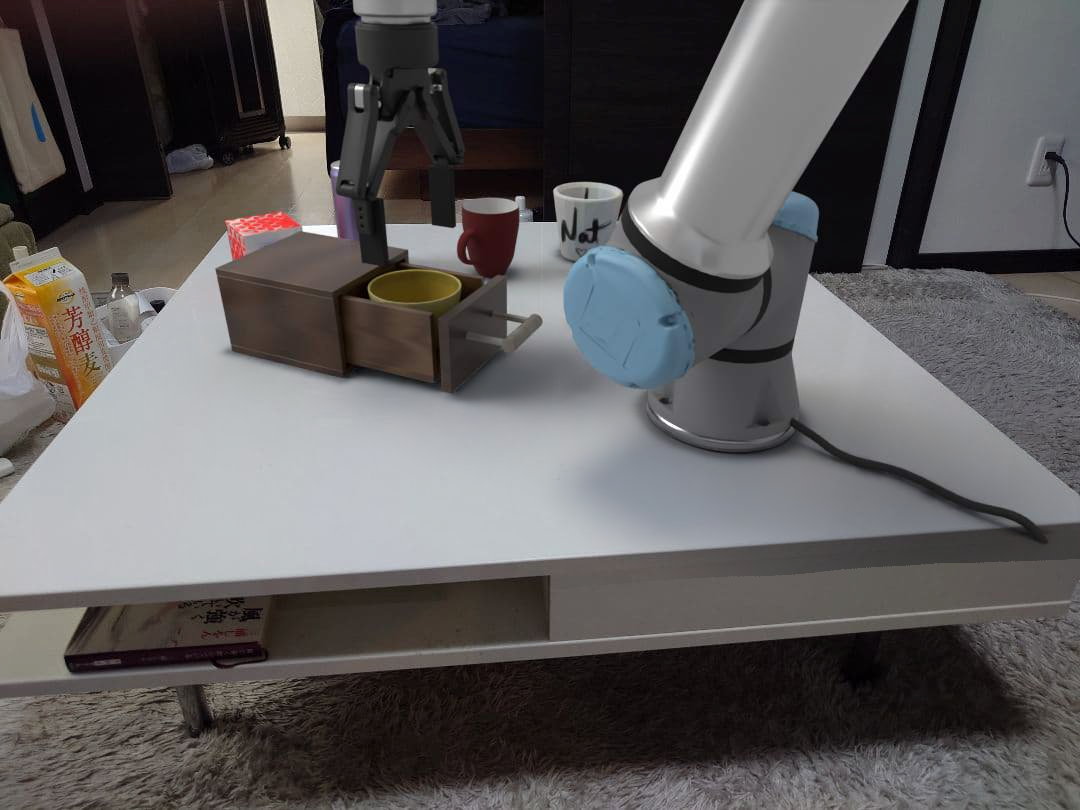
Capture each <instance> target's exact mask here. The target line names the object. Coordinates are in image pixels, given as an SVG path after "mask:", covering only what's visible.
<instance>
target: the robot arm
mask: <svg viewBox="0 0 1080 810" xmlns="http://www.w3.org/2000/svg"><path fill="white" fill-rule="evenodd" d="M909 1H910V0H744V1H743V2H742V5H741V7H740V8H739V11H738V13H737V15H736V18H735V19H734V22H733V24H732V26H731V28H730V30H729V32H728V34H727V37H726V39H725V40H724V43H723V45H722V47H721V49H720V51H719V54H718V55H717V58H716V60H715V62H714V64H713V66H712V68H711V70H710V73H709V74H708V76H707V78H706V81H705V83H704V85H703V87H702V90H701V91H700V93H699V95H698V98H697V100H696V102H695V104H694V106H693V108H692V111H691V113H690V115H689V117H688V119H687V121H686V123H685V125H684V128H683V130H682V131H681V134H680V135H679V138H678V140H677V142H676V144H675V146H674V148H673V151H672V153H671V154H670V157H669V159H668V161H667V163H666V165H665V167H664V170H663V172H662V174H661V175H660V176H659V177H656V178H653V179H649V180H646V181H642V182H641V183H639V184H637V185H636V186H635V187H634V188H633V190H632V192H631V193H630V195H628V198H627V201H626V203H625V205H624V207H623V209H622V212H621V214H620V216H619V217H618V220H617V224H616V227H615V229H614V231H613V234H612V236H611V238H610V240H609V241H608V242H607V244H606V245H605V246H599V247H596V248H593V249H590V250H589V251H587V253H586V255H584V256H583V257H581V258H580V259H579V260H577V261H575V262H574V263H573V264H572V266H571V267H570V270H569V271H568V273H567V276H566V278H565V281H564V287H563V293H562V294H563V296H562V297H563V299H562V300H563V301H562V302H563V303H562V304H563V311H564V317H565V321H566V324H567V325H568V326H569V328H570V330H571V333H572V334H571V337H572V339H573V341H574V343H575V345H576V347H577V348H578V350H579V351H580V353H581V354H582V356H583V357H584V358H585V359H586V361H588V363H589V364H590V365H591V366H592V367H593V368H594V369H595V370H596V371H597V372H598V373H600V374H601V375H602V376H604V377H605V378H606V379H608V380H610V381H611V382H613V383H615V384H618V385H620V386H621V387H625V388H629V389H633V390H636V389H637V390H638V389H639V390H646V397H645V410H646V414H647V416H648V417H649V420H651V421H652V423H653V424H654V425H655V426H656V427H657V428H658V429H660V430H661V431H662V432H664V433H665V434H667V435H669V436H670V437H672V438H674V439H676V440H679V441H680V442H683V443H685V444H689V445H691V446H695V447H698V448H702V449H707V450H712V451H717V452H726V453H746V452H747V453H749V452H758V451H763V450H767V449H771V448H774V447H777V446H778V445H780V444H783V443H784V442H786V441H787V440H789V439H790V438H791V437H792V436H793V434H794V433H795V432H796V431H797V432H799V433H800V434H802V435H804V436H805V437H806V438H808V439H809V440H811V441H812V442H814V443H815V444H817V445H818V446H819V447H820V448H821V449H823V450H824V451H825V452H827V453H829V454H830V455H832V456H833V457H835V458H837V459H839V460H841V461H843V462H846V463H849V464H852V465H855V466H858V467H862V468H866V469H871V470H875V471H879V472H884V473H887V474H890V475H894V476H897V477H900V478H902V479H905V480H907V481H909V482H912V483H914V484H916V485H918V486H920V487H921V488H924V489H926V490H928V491H929V492H931V493H933V494H935V495H937V496H939V497H942V498H943V499H945V500H947V501H949V502H951V503H953V504H955V505H958V506H960V507H962V508H965V509H967V510H971V511H973V512H978V513H982V514H986V515H991V516H996V517H1000V518H1003V519H1005V520H1006V519H1007V520H1010V521H1012V522H1014V523H1017V525H1019V526H1021V527H1022V528H1024V529H1025V530H1026V531H1028V533H1029V534H1030V535H1031V536H1032V537H1033V539H1034V540H1035V541H1036V542H1038V543H1039V544H1043V545H1048V544H1049V541H1048V539H1047V537H1046V535H1045V534H1044V533H1043V531H1042V530H1041V529H1040V527H1039V526H1038V525H1036V523H1035V522H1034V521H1033V520H1031V519H1030V518H1028V517H1027V516H1025V515H1023V514H1022V513H1019V512H1017V511H1015V510H1012V509H1008V508H1006V507H1001V506H996V505H993V504H987V503H983V502H980V501H976V500H973V499H969V498H967V497H965V496H962V495H960V494H957V493H956V492H953V491H951V490H949V489H947V488H945V487H943V486H941V485H940V484H937V483H936V482H933V481H932V480H929V479H928V478H926V477H923V476H921V475H920V474H918V473H915V472H914V471H913V472H912V471H910V470H908V469H905V468H903V467H899V466H896V465H893V464H890V463H886V462H882V461H877V460H872V459H868V458H865V457H860V456H857V455H854V454H851V453H849V452H846V451H844V450H842V449H840V448H838V447H837V446H835V445H834V444H832V443H830V442H829V441H828V440H827V439H825V438H824V437H823V436H822V435H820V434H819V433H817V432H816V431H815V430H813V429H811V428H810V427H808V426H807V425H805V424H803V423H802V422H800V421H799V417H800V399H799V393H798V385H797V378H796V371H795V367H794V366H795V365H794V360H793V349H794V345H795V344H794V343H795V340H796V339H795V338H796V334H797V330H798V326H799V321H800V315H801V311H802V306H803V301H804V297H805V292H806V287H807V283H808V278H809V273H810V269H811V263H812V259H813V255H814V251H815V250H814V249H815V245H816V243H818V239H819V237H818V235H817V233H818V232H817V231H818V225H819V216H820V211H819V207H818V205H817V203H816V202H815V201H814V200H812V199H811V198H810V197H808V196H806V195H804V194H802V193H799V192H795V191H793V190H794V188H795V186H796V185H797V183H798V181H799V180H800V178H801V176H802V175H803V173H804V172H805V170H806V169H807V168H808V166H809V164H810V162H811V160H812V158H813V157H814V155H815V154H816V152H817V151H818V149H819V148H820V145H822V142H823V141H824V139H825V138H826V136H827V134H828V133H829V131H830V129H831V128H832V126H833V125H834V122H835V121H836V119H837V118H838V116H839V115H840V113H841V112H842V110H843V109H844V106H845V105H846V104H847V102H848V100H849V98H850V97H851V96H852V94H853V92H854V91H855V89H856V87H857V85H858V84H859V82H860V81H861V79H862V77H863V76H864V74H865V72H866V71H867V70H868V68H869V66H870V64H871V63H872V61H873V59H874V58H875V56H876V55H877V52H878V51H879V50H880V48H881V47H882V45H883V43H884V42H885V40H886V39H887V37H888V35H889V33H890V32H891V30H892V28H893V27H894V25H895V24H896V22H897V20H898V19H899V17H900V15H901V14H902V12H903V11H904V9H905V8H906V5H907V4H908V3H909ZM437 5H438V3H437V0H352V6H353V12H354V13H355V14H356V15H357V16H360V20H361V21H357V22H356V24H355V25H354V32H355V42H356V43H355V44H356V54H357V62H358V63H359V64H360V65H361V66H363V67H365V68H367V70H368V72H369V82H368V84H366V83H354V82H351V83H349V84H347V85H348V86H347V90H346V91H347V115H346V116H347V117H346V120H345V121H346V122H345V128H344V135H343V139H342V140H343V141H342V145H341V153H340V158H339V161H340V164H339V170H338V176H337V182H336V193H337V195H339V196H344V197H348V198H351V199H352V200H353V202H354V210H355V218H356V219H355V220H356V229H357V231H358V233H359V241H360V250H361V260H362V263H367V264H372V265H378V266H383V267H386V266H387V265H389V256H388V246H389V245H388V233H387V223H386V212H385V200H384V197H383V198H382V197H378V195H379V193H380V189H381V185H382V183H383V179H384V176H385V174H386V169H387V166H388V164H389V160H390V157H391V154H392V151H393V148H394V145H395V142H396V139H397V138H399V137H400V136H401V135H402V134H403V131H404V129H408V128H409V127H411V126H412V127H413V130H414V131H415V133H416V134H417V136H418V138H419V140H420V141H421V143H422V145H423V146H424V148H425V150H426V152H427V154H428V156H429V157H430V159H431V161H432V162H433V163H434V164H430V165H428V181H429V182H428V183H429V199H430V200H429V202H430V215H431V216H430V217H431V219H430V220H431V225H432V226H435V227H442V228H447V229H454V228H456V227H457V213H456V191H455V168H454V167H455V166H456V167H462V166H463V164H464V155H465V152H466V147H465V144H464V141H463V138H462V134H461V130H460V127H459V124H458V119H457V116H456V114H455V113H456V112H455V110H454V106H453V103H452V99H451V96H450V93H449V84H448V76H447V75H448V74H447V70H446V69H444V68H433V67H436V65H438V63H439V61H440V49H439V31H438V29H439V28H438V26H437V25H436V23H435V21H432V17H433V16H436V14H437V13H438V6H437ZM451 142H452V143H451ZM435 164H436V165H435ZM349 181H351V182H350V183H349ZM367 183H368V187H367Z"/></svg>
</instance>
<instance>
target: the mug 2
mask: <svg viewBox="0 0 1080 810" xmlns="http://www.w3.org/2000/svg"><path fill="white" fill-rule="evenodd" d="M552 192H553V199H554V209H555V216H556V224H557V232H558V242H559V251H560V254H561V256H562V257H563V258H564V259H566V260H569V261H572V262H576V261H577V260H579V259H580V258H581V257H583V256H584V255H586V253H587V251H589V250H590V249H593V248H596V247H599V246H605V245H606V244H607V242H608V241H609V240H610V238H611V236H612V234H613V231H614V229H615V227H616V225H617V223H618V220H619V214H620V209H621V206H622V201H623V197H624V193H623V190H622V189H621V188H619V187H617V186H614V185H611V184H607V183H602V182H594V181H593V182H592V181H576V182H575V181H574V182H568V183H563V184H560V185H557V186H556V187H555V188H554V189H553V191H552Z"/></svg>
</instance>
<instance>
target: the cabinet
mask: <svg viewBox="0 0 1080 810" xmlns="http://www.w3.org/2000/svg"><path fill="white" fill-rule="evenodd" d="M388 256H389V265H387V266H386V267H383V266H378V265H372V264H367V263H362V260H361V250H360V241H355V240H349V239H343V238H338V236H331V235H325V234H320V233H314V232H309V231H300V232H298V233H295V234H293V235H291V236H288V237H286V238H284V239H281V240H279V241H277V242H275V243H272V244H270V245H268V246H265V247H263V248H261V249H259V250H256V251H254V252H252V253H249V254H247V255H245V256H242V257H240V258H238V259H236V260H233V259H232V260H231V261H229V262H226V263H223V264H222V265H219V266H217V267H215V268H214V270H215V275H216V278H217V283H218V288H219V293H220V294H219V295H220V298H221V303H222V309H223V313H224V318H225V323H226V327H227V333H228V337H229V342H230V347H231V350H232V352H236V353H240V354H244V355H248V356H252V357H257V358H259V359H265V360H269V361H273V362H275V363H276V362H277V363H280V364H285V365H290V366H293V367H297V368H302V369H305V370H309V371H313V372H318V373H322V374H325V375H329V376H333V377H337V378H343V379H344V378H346V377H347V376H348V375H351V374H352V373H353V371H355V370H356V369H358V368H360V366H359V365H354V364H350V363H346V358H345V350H344V342H343V334H342V326H341V318H340V310H339V302H338V296H340V295H341V294H343V293H345V292H346V291H348V290H350V289H352V288H353V287H355V286H357V285H359V284H360V283H362V282H364V281H366V280H367V279H369V278H371V277H373V276H374V275H376V274H378V273H380V272H381V271H383V270H385V269H387V268H388V267H390V266H392V265H393V264H395V263H397V262H399V261H400V262H405V263H410V257H409V249H407V248H401V247H395V246H389V245H388Z"/></svg>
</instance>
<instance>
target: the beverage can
mask: <svg viewBox="0 0 1080 810" xmlns="http://www.w3.org/2000/svg"><path fill="white" fill-rule="evenodd" d="M339 164H340V160H336V161H333V162H332V163H331V164H330V173H329V174H330V176H329V177H330V182H331V183H330V184H331V192H332V201H333V209H334V217H335V225H336V234H337V237H338V238H343V239H349V240H355V241H359V233H358V231H357V229H356V220H355V219H356V218H355V210H354V202H353V200H352V199H351V198H348V197H344V196H339V195H337V193H336V182H337V176H338V170H339ZM350 182H351V181H349V183H350ZM367 187H368V183H367Z"/></svg>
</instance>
